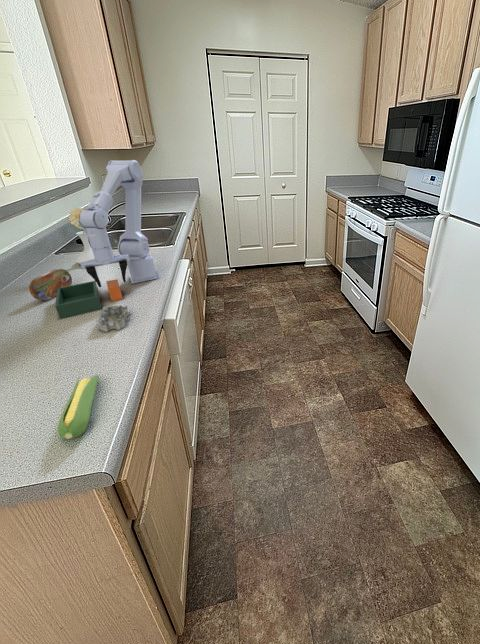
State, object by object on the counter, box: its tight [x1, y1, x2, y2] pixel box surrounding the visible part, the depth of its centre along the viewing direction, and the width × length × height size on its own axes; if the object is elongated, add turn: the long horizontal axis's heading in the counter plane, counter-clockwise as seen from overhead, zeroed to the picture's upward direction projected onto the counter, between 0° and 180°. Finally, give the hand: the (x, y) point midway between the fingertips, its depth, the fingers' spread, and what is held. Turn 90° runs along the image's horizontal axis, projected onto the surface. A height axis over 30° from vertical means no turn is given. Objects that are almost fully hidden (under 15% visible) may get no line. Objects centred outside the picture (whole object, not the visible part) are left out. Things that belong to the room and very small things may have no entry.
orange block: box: [106, 278, 123, 302], centre depth 117 cm, size 4×7×5 cm, turn 31°
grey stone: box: [95, 305, 130, 333], centre depth 101 cm, size 11×8×4 cm
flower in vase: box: [68, 206, 95, 265], centre depth 144 cm, size 13×11×25 cm
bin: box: [54, 280, 102, 320], centre depth 113 cm, size 12×16×4 cm
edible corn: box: [57, 374, 99, 440], centre depth 70 cm, size 5×20×4 cm, turn 19°
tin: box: [28, 268, 73, 301], centre depth 119 cm, size 15×3×8 cm, turn 168°
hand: (112, 283), depth 116 cm, fingers open, 7 cm apart
